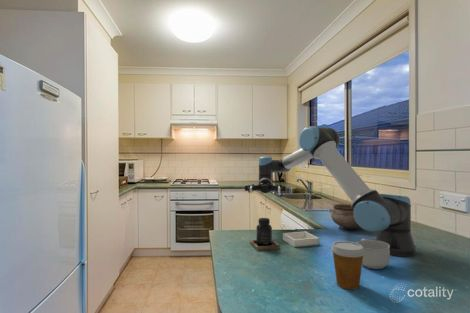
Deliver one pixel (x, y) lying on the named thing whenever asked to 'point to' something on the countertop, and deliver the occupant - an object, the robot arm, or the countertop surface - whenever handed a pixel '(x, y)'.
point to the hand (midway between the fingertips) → (264, 190)
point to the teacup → (375, 253)
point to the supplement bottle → (264, 232)
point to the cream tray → (300, 239)
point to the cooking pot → (344, 216)
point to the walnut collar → (259, 248)
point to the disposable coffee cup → (347, 263)
